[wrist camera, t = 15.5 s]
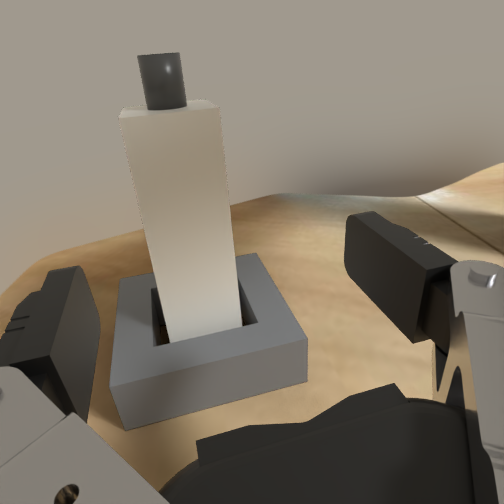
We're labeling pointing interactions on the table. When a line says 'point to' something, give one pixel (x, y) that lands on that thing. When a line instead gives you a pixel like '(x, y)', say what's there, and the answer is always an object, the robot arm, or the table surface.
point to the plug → (183, 200)
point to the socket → (202, 351)
